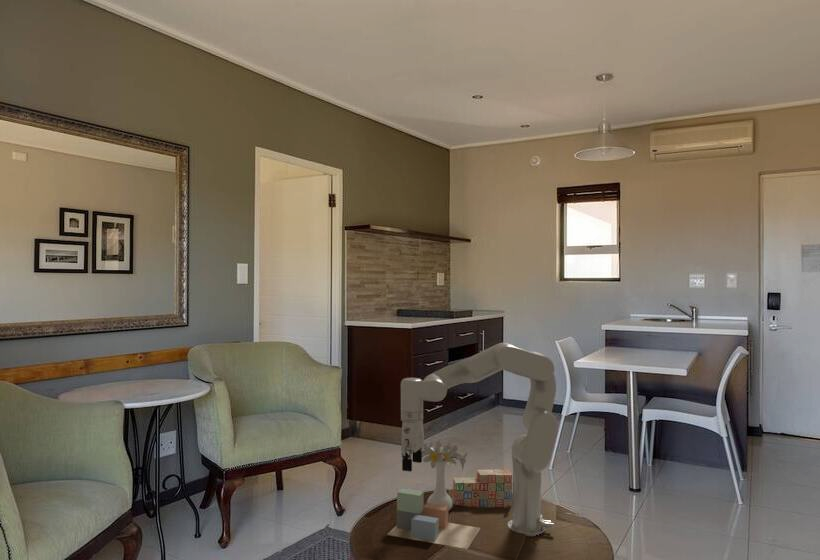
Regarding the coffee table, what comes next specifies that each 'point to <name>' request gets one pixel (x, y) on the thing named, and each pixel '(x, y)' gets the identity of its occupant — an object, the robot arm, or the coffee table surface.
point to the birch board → (445, 535)
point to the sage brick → (410, 501)
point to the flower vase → (441, 469)
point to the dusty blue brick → (425, 528)
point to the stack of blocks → (484, 489)
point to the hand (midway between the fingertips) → (412, 466)
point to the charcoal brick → (405, 519)
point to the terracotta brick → (437, 513)
